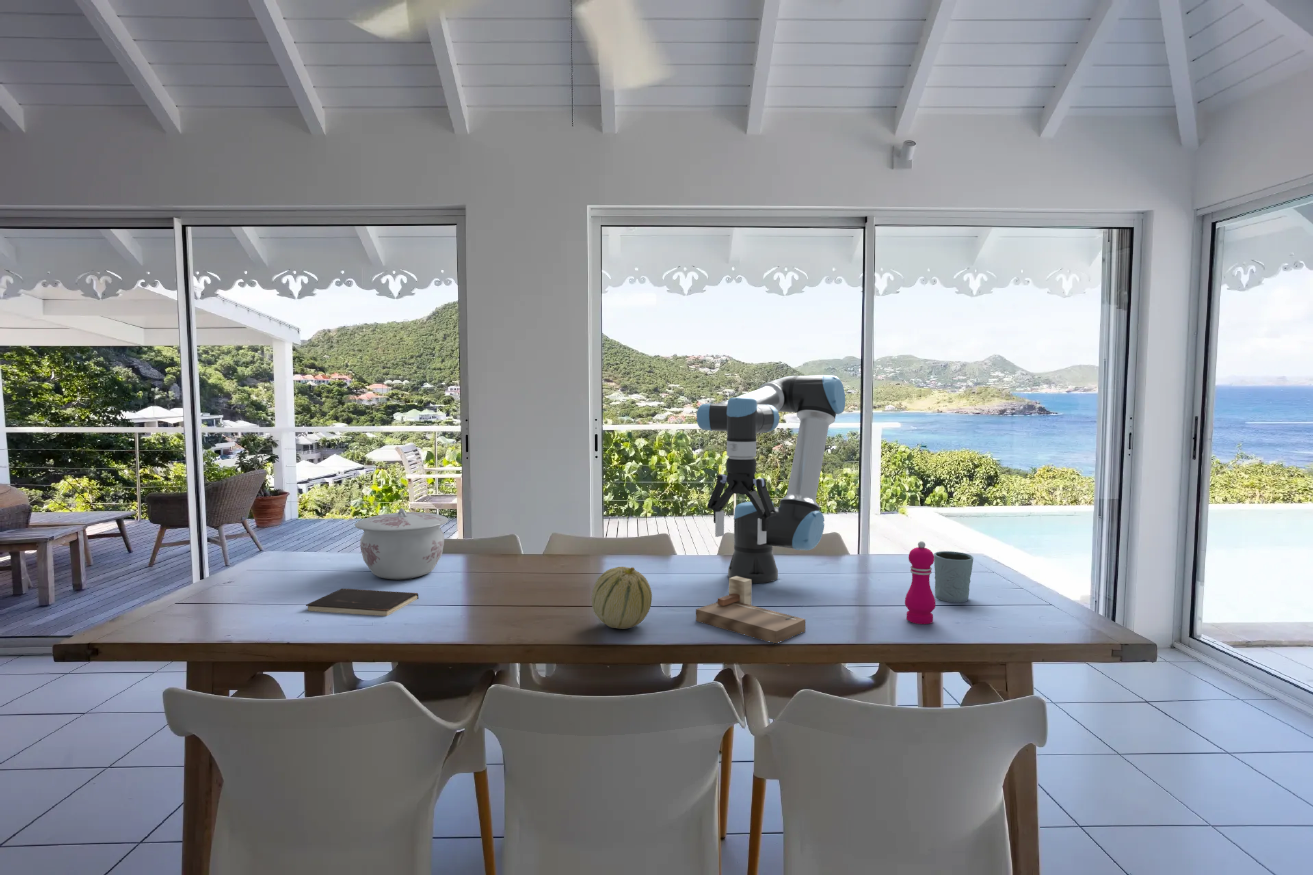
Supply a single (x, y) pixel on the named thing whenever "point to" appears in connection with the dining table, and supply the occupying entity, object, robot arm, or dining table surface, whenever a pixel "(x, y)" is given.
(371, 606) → the hardcover book
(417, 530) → the chamber pot
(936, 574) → the green ceramic cup
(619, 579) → the cantaloupe
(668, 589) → the dining table surface
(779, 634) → the walnut board
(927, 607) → the pepper mill
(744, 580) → the marking gauge
